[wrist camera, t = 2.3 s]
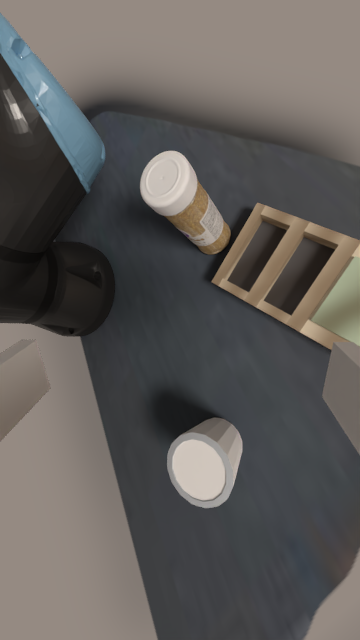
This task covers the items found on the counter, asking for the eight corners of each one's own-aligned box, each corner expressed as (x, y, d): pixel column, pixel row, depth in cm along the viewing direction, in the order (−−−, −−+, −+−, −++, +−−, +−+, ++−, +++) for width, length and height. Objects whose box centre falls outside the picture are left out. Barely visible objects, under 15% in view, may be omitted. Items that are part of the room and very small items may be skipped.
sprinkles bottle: (192, 250, 33) (130, 200, 20) (205, 217, 32) (149, 145, 20) (223, 259, 31) (174, 211, 19) (237, 224, 30) (197, 150, 18)
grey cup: (227, 484, 29) (207, 525, 23) (183, 441, 32) (154, 468, 25) (260, 441, 28) (248, 472, 21) (211, 400, 30) (188, 417, 24)
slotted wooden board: (216, 284, 31) (210, 281, 29) (260, 210, 29) (257, 201, 27) (352, 362, 24) (357, 364, 22) (419, 272, 22) (432, 266, 20)
